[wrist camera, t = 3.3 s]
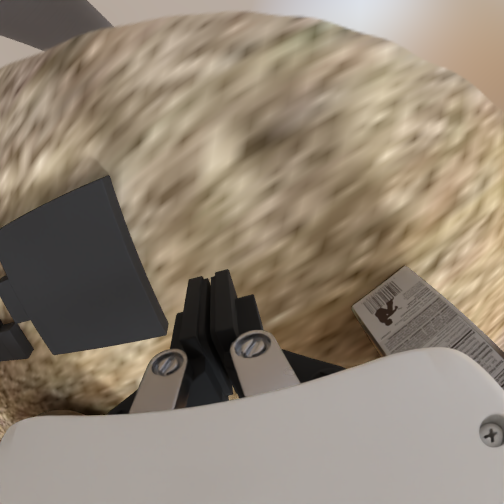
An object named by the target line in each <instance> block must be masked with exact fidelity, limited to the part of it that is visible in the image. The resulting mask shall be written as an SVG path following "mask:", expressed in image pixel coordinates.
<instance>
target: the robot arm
mask: <svg viewBox="0 0 504 504" xmlns="http://www.w3.org/2000/svg"><path fill="white" fill-rule="evenodd" d="M232 385H233V388H234V390H235V392H236V393H237V394H238V396H239V398H240V399H235V400H230V401H229V398H228V395H233V389H232ZM0 504H504V390H503V389H502V388H501V386H500V385H499V384H498V383H497V382H496V381H495V380H494V379H493V377H492V376H491V375H490V374H489V373H488V372H487V371H486V370H484V369H483V368H482V367H481V366H480V365H479V364H478V363H477V362H475V361H474V360H473V359H472V358H470V357H469V356H467V355H466V354H464V353H462V352H460V351H458V350H455V349H451V348H447V347H429V348H421V349H413V350H408V351H404V352H399V353H395V354H392V355H388V356H385V357H381V358H378V359H375V360H372V361H370V362H367V363H364V364H361V365H358V366H355V367H352V368H349V369H345V368H343V367H341V366H337V365H333V364H330V363H326V362H323V361H319V360H316V359H312V358H309V357H305V356H302V355H299V354H295V353H292V352H289V351H286V350H283V349H281V348H280V346H279V344H278V343H277V341H276V339H275V337H274V336H273V335H272V334H271V333H269V332H267V331H264V330H263V326H262V322H261V318H260V315H259V311H258V308H257V304H256V301H255V297H254V294H252V295H248V296H245V297H241V298H237V295H236V291H235V288H234V285H233V282H232V279H231V275H230V272H229V270H228V269H227V270H223V271H219V272H215V276H214V277H211V285H210V282H209V280H208V278H206V279H203V277H202V276H200V277H197V278H193V279H189V282H188V287H187V293H186V299H185V304H184V310H183V312H181V313H177V315H176V319H175V325H174V330H173V335H172V341H171V347H170V349H169V350H165V351H162V352H160V353H159V354H157V355H156V356H154V357H153V358H152V359H151V361H150V362H149V364H148V366H147V368H146V371H145V373H144V376H143V378H142V381H141V383H140V386H139V388H138V390H136V391H135V392H134V393H133V394H131V395H130V396H129V397H128V398H126V399H125V400H124V401H123V402H121V403H120V404H119V405H118V406H116V407H115V408H114V409H112V410H111V411H110V412H109V413H108V414H107V415H90V416H74V415H63V416H48V415H47V416H36V417H31V418H27V419H24V420H21V421H19V422H17V423H15V424H13V425H12V426H10V427H9V428H8V429H7V431H6V433H5V434H4V436H3V438H2V440H1V442H0Z"/></svg>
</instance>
